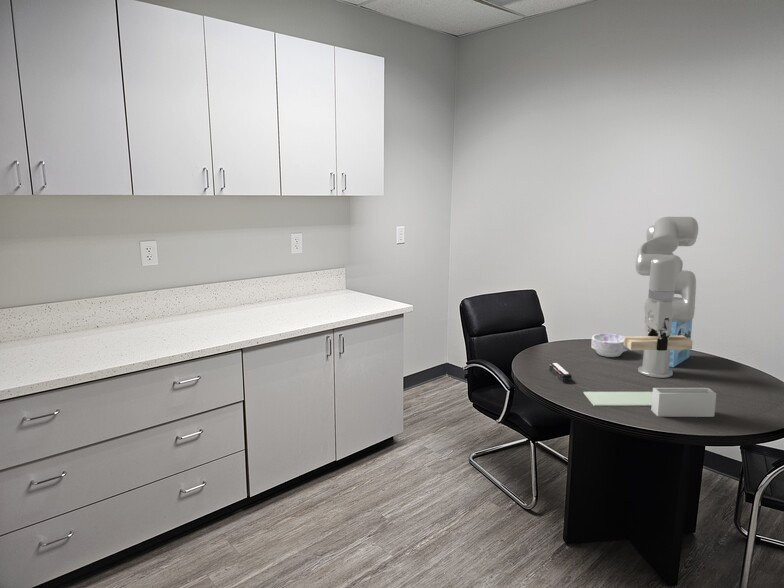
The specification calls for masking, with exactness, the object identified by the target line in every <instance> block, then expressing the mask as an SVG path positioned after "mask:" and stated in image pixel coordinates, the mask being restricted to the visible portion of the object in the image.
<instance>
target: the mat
mask: <svg viewBox="0 0 784 588" xmlns="http://www.w3.org/2000/svg"><path fill="white" fill-rule="evenodd" d="M583 394H584V396H585V397H586V398H587V399H588V401H589V402H590V403H591V404H592V405H593V407H652V394H653V391H583Z"/></svg>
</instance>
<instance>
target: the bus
mask: <svg viewBox="0 0 784 588" xmlns="http://www.w3.org/2000/svg"><path fill="white" fill-rule="evenodd" d="M548 371H549V372H550V373H551V374H552V375H554V377H556V378H557V379H558V380H559V381H560V382H561V384H572V377H573V376H572V374H571V373H570V372H569V371H567V370H566V369H565V368H564V367H563V366H561V364H559V362H551V363H549V370H548Z"/></svg>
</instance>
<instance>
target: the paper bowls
mask: <svg viewBox="0 0 784 588" xmlns="http://www.w3.org/2000/svg"><path fill="white" fill-rule="evenodd" d="M624 337H625V336H624V335H621V334H615V333H596V334H593V335H592V336H591V342H590V343H591V344H590V345H591V346H590V347H591V349H593V350H595V352H596V354H597V355H599V356H601V357H606V358H617V357H619V356H621V355H622V354H623V353H624V352H627V351H628V348H627V347H626V346H624Z"/></svg>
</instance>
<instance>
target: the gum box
mask: <svg viewBox="0 0 784 588" xmlns="http://www.w3.org/2000/svg"><path fill="white" fill-rule="evenodd" d="M692 327H693V319H692V320H691V321H690V322H675V321H672V327H671V330H672V335H671V336H685V337H687V338H689V339H691V340H692ZM690 353H691V349H679V350H670V360H669V368H675V367H676V366H678V365H679V364H681V363H683V362H684V361H685V360H687V359H689V358H690V356H691V355H690Z"/></svg>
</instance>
